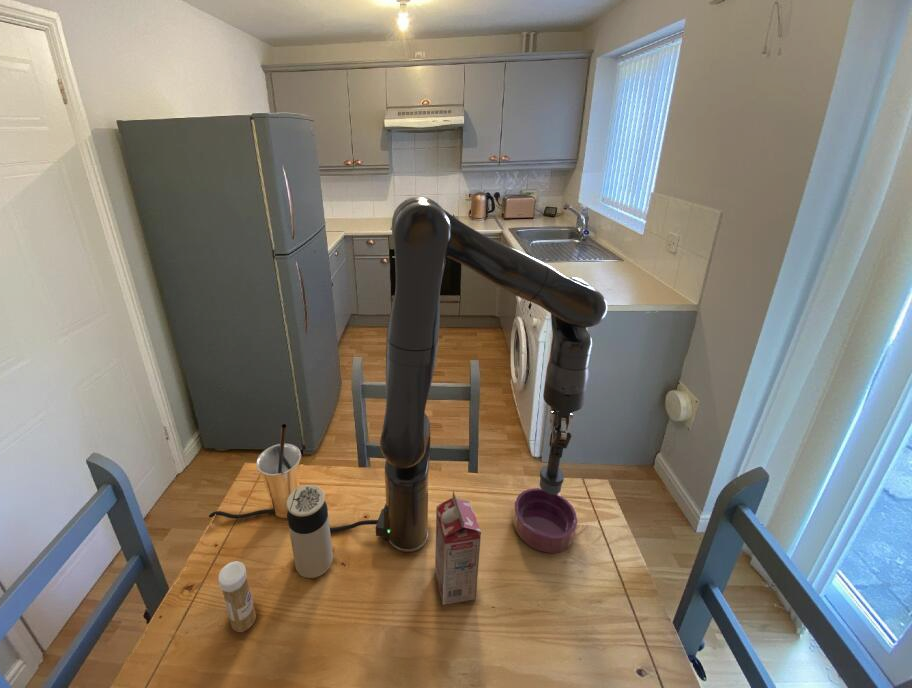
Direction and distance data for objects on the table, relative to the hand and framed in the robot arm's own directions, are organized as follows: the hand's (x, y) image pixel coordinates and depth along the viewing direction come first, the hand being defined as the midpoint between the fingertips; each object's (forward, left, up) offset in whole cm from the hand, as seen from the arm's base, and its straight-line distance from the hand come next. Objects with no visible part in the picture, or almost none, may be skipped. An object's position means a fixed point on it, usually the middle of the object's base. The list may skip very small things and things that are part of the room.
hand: (555, 451), depth 87 cm
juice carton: (-18, -17, -23) cm, 34 cm away
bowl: (0, +1, -23) cm, 23 cm away
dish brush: (0, 0, -10) cm, 10 cm away
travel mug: (-48, -19, -23) cm, 57 cm away
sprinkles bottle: (-56, -33, -23) cm, 69 cm away
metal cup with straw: (-60, -8, -23) cm, 65 cm away
